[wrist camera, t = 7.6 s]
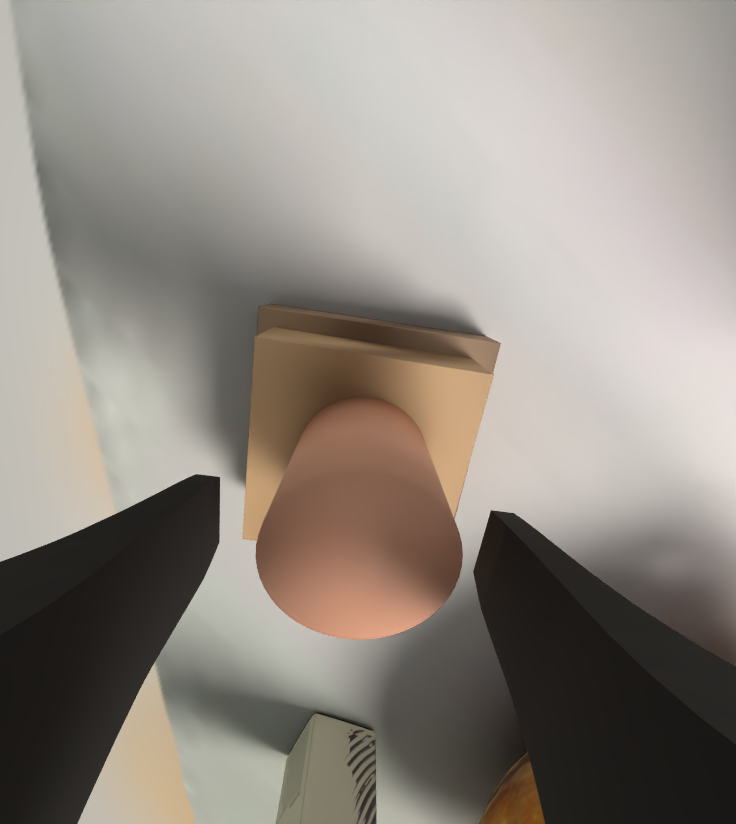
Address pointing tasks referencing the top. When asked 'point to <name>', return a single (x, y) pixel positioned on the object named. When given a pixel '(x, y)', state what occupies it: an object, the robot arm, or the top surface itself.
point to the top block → (348, 378)
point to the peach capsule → (359, 526)
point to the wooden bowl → (515, 798)
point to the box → (330, 775)
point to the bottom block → (381, 333)
